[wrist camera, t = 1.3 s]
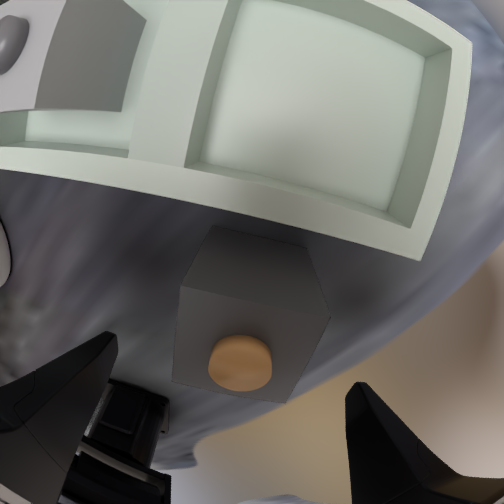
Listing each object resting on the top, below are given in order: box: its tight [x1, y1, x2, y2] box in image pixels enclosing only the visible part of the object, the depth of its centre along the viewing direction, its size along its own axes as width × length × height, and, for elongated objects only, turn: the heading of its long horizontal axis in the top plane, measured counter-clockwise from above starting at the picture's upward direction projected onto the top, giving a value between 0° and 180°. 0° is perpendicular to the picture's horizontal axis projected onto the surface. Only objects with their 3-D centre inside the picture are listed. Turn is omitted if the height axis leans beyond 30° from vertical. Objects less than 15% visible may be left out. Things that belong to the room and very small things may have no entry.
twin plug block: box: [0, 0, 147, 113], centre depth 7 cm, size 5×5×7 cm
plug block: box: [172, 226, 331, 403], centre depth 12 cm, size 5×5×7 cm
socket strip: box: [0, 0, 472, 261], centre depth 9 cm, size 11×23×4 cm, turn 77°
